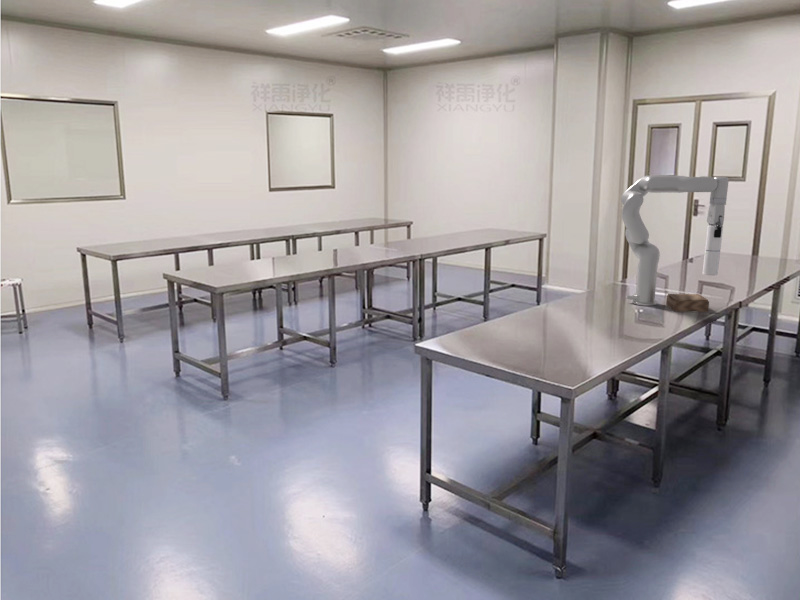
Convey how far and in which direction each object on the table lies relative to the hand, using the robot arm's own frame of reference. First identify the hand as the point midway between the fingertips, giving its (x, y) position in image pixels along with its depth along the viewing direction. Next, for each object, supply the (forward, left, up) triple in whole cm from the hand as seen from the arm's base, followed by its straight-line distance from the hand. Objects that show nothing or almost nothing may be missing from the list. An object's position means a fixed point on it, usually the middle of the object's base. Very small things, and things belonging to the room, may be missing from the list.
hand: (714, 236), depth 324 cm
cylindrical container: (0, 0, -20) cm, 20 cm away
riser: (-14, -11, -35) cm, 40 cm away
